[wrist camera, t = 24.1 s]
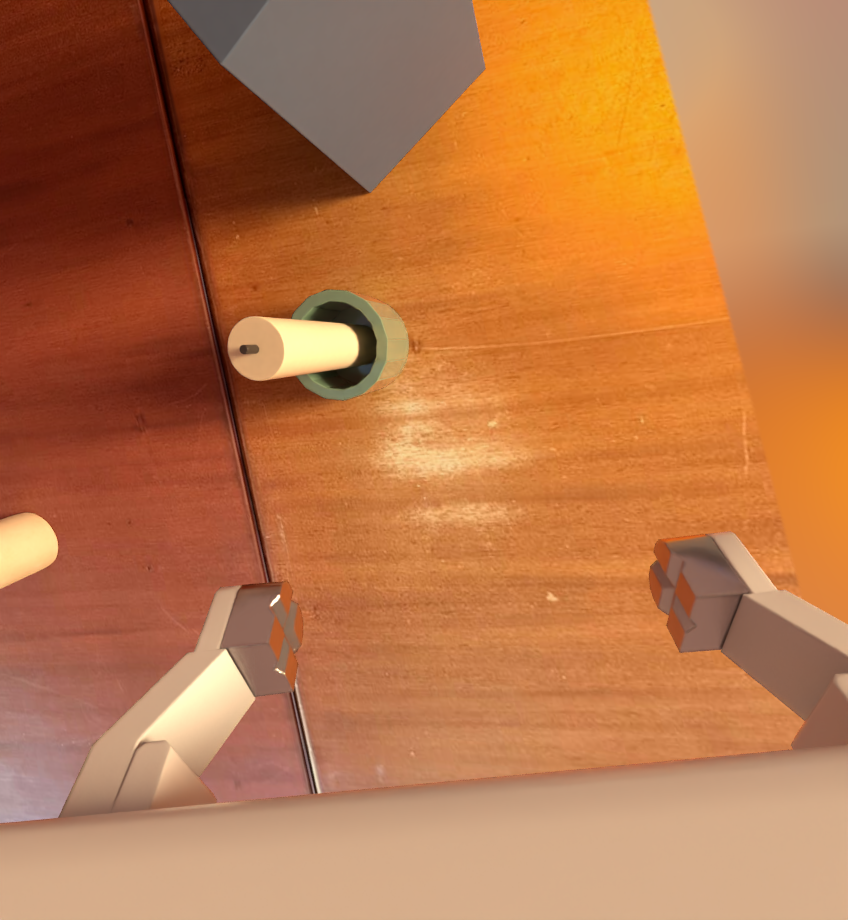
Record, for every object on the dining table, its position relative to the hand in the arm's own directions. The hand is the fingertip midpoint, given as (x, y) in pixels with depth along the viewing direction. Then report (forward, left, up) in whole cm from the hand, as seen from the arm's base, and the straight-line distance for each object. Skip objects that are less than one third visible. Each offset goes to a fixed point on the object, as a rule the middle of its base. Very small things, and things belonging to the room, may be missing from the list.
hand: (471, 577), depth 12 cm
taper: (+5, -11, -25) cm, 27 cm away
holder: (+5, -11, -25) cm, 28 cm away
